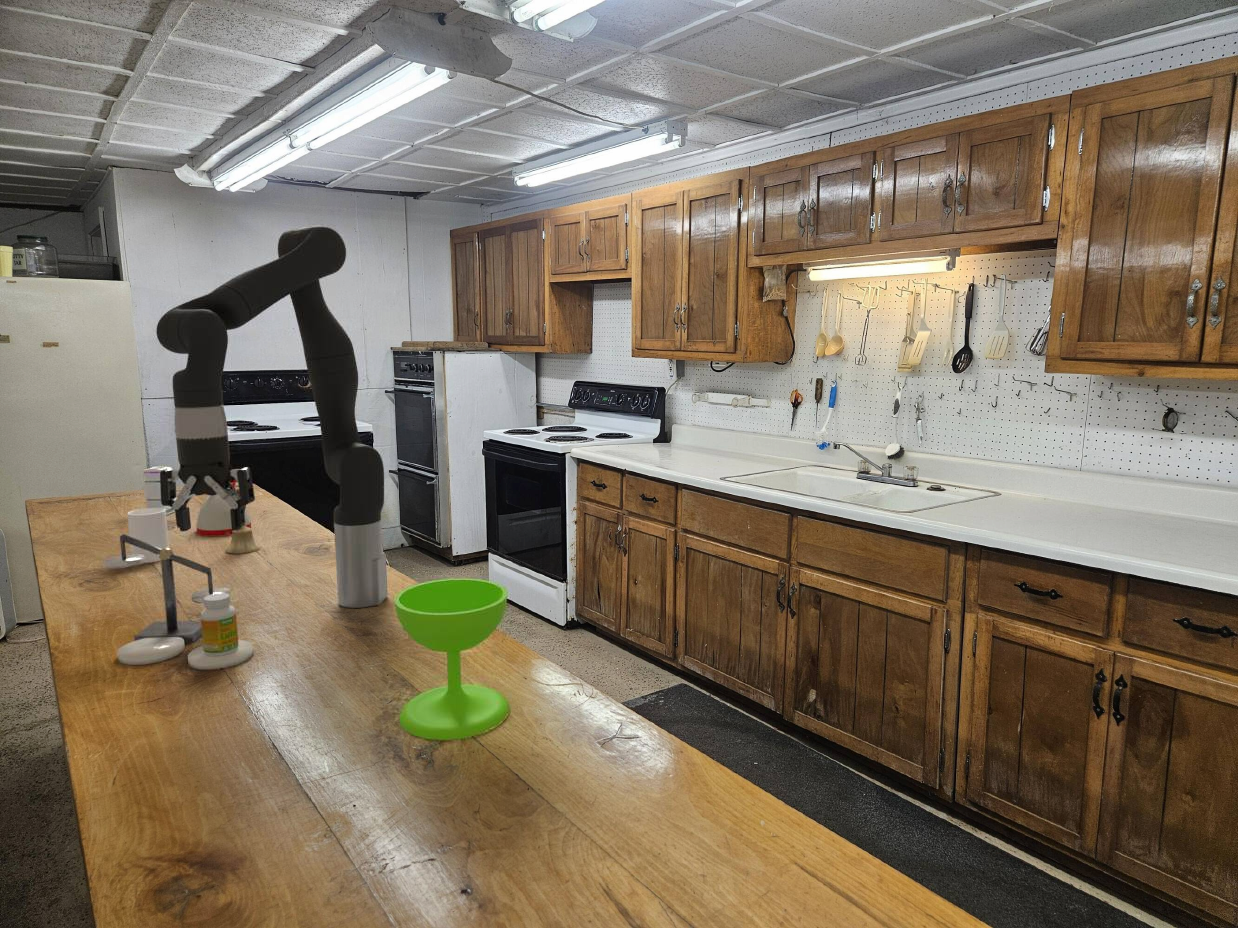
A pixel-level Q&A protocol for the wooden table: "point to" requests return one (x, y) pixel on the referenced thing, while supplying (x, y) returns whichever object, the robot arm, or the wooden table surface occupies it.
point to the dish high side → (150, 650)
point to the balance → (166, 589)
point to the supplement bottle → (219, 625)
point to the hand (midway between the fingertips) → (211, 529)
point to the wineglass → (452, 654)
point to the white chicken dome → (217, 517)
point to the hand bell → (242, 540)
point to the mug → (148, 530)
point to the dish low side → (220, 657)
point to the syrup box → (154, 488)
